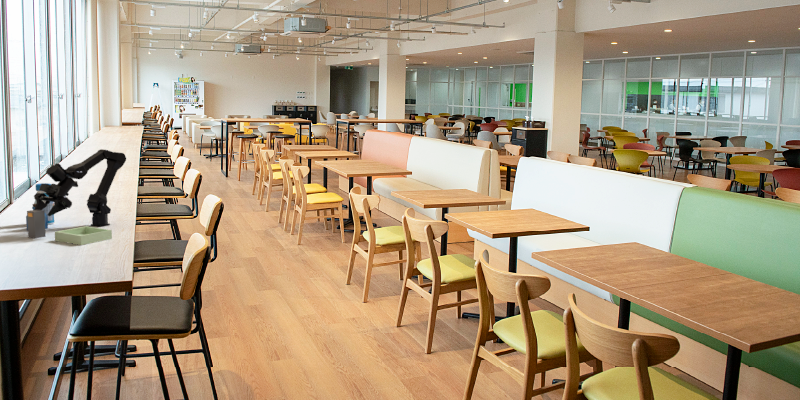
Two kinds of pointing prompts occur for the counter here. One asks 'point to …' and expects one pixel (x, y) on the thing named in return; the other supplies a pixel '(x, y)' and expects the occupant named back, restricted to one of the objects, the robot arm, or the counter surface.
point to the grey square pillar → (36, 223)
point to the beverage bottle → (49, 206)
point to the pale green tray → (83, 235)
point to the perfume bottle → (45, 218)
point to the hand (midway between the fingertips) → (41, 214)
